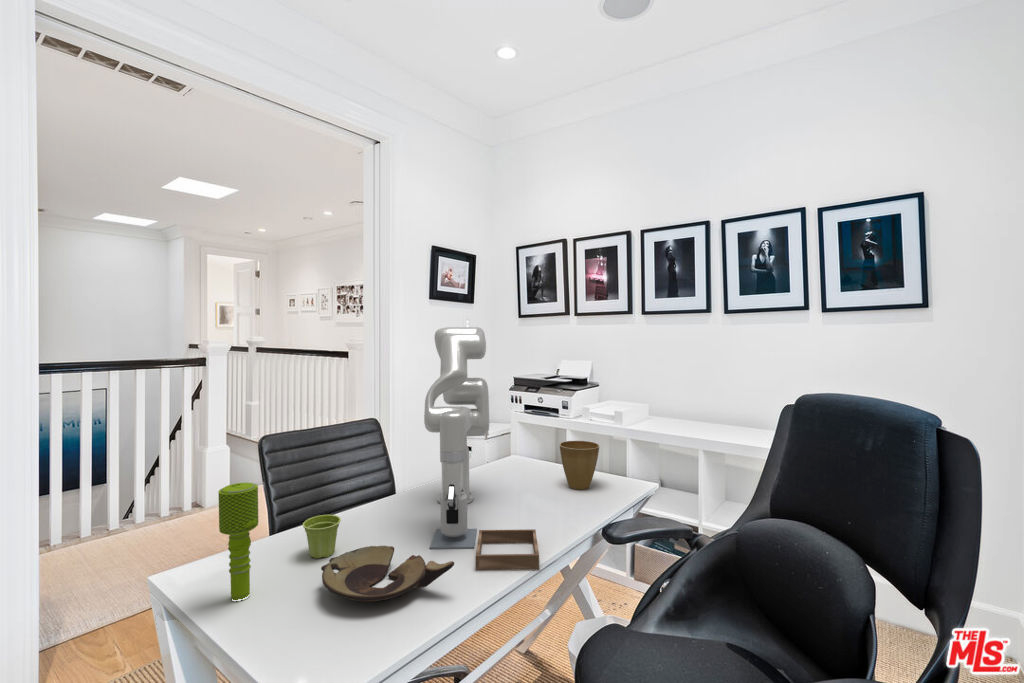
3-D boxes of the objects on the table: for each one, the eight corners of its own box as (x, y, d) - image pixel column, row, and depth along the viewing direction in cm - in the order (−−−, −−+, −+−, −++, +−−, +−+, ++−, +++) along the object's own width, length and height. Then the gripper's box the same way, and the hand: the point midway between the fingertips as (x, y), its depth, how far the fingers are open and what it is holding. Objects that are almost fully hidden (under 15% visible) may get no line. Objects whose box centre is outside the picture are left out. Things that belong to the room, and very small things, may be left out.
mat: (436, 530, 143) (436, 529, 143) (476, 530, 143) (476, 528, 143) (429, 549, 131) (429, 547, 131) (474, 548, 131) (474, 546, 131)
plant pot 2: (602, 493, 175) (602, 449, 175) (561, 493, 175) (561, 449, 175) (596, 480, 190) (596, 439, 190) (557, 480, 190) (557, 440, 190)
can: (462, 539, 133) (462, 496, 133) (436, 537, 134) (436, 494, 134) (470, 528, 140) (470, 487, 140) (445, 526, 142) (445, 485, 141)
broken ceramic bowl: (374, 556, 127) (373, 527, 127) (466, 586, 112) (466, 553, 112) (297, 596, 108) (297, 562, 108) (397, 640, 93) (396, 600, 93)
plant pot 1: (348, 548, 132) (348, 516, 132) (324, 564, 123) (324, 530, 123) (320, 543, 135) (320, 512, 135) (295, 559, 126) (294, 525, 126)
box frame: (479, 542, 135) (479, 529, 135) (535, 541, 135) (535, 529, 135) (475, 570, 119) (475, 556, 119) (539, 569, 120) (539, 555, 120)
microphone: (212, 603, 106) (209, 489, 105) (242, 585, 113) (240, 478, 112) (239, 610, 103) (237, 493, 102) (269, 592, 110) (267, 482, 109)
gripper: (444, 447, 145) (444, 506, 146) (435, 464, 128) (436, 530, 129) (469, 447, 145) (469, 506, 146) (464, 464, 128) (464, 530, 129)
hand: (454, 517), depth 137 cm, fingers closed on can, 7 cm apart
